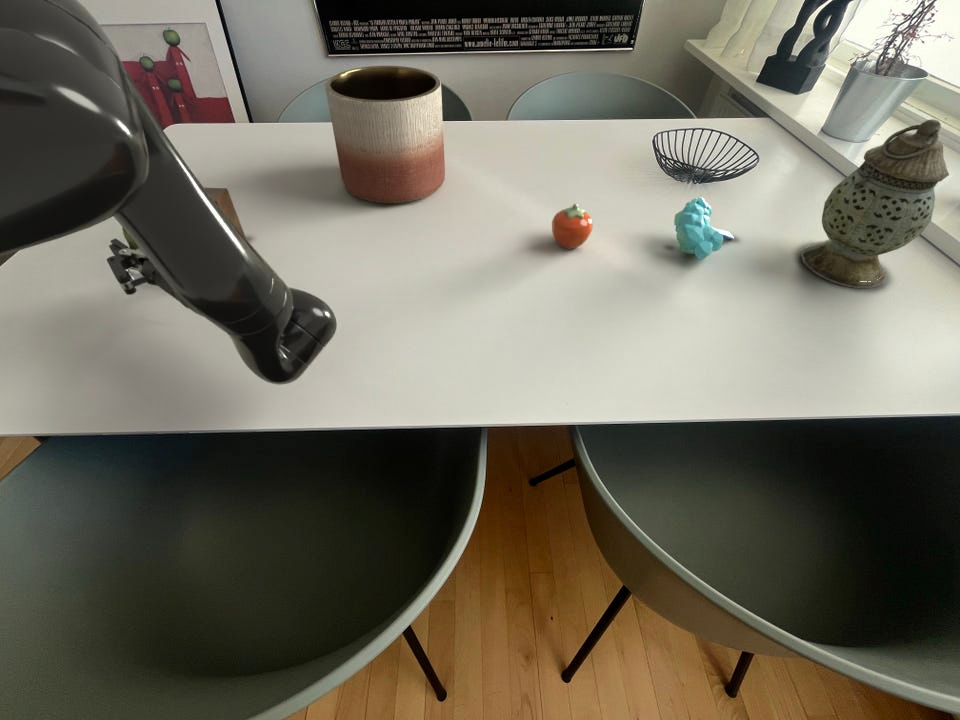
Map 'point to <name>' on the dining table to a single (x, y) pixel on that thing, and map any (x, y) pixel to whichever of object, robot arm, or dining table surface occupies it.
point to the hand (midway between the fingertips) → (137, 237)
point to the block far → (225, 205)
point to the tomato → (571, 227)
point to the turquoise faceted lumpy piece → (698, 229)
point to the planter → (388, 132)
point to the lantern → (879, 207)
